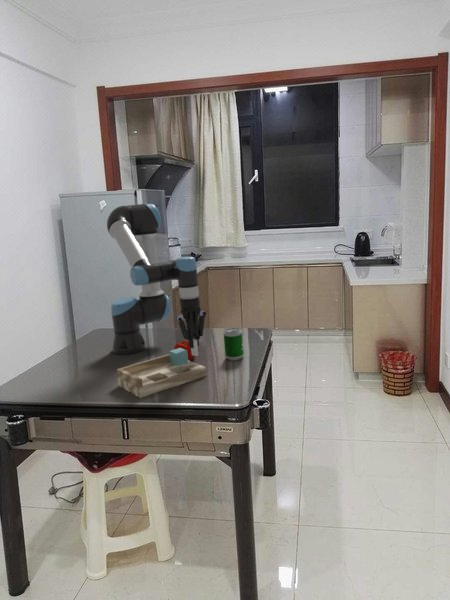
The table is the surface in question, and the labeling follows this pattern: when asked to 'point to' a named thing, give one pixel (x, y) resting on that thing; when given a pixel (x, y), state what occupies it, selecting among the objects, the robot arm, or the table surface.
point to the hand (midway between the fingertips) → (195, 354)
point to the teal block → (178, 356)
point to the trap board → (157, 375)
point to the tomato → (185, 345)
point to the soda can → (233, 344)
